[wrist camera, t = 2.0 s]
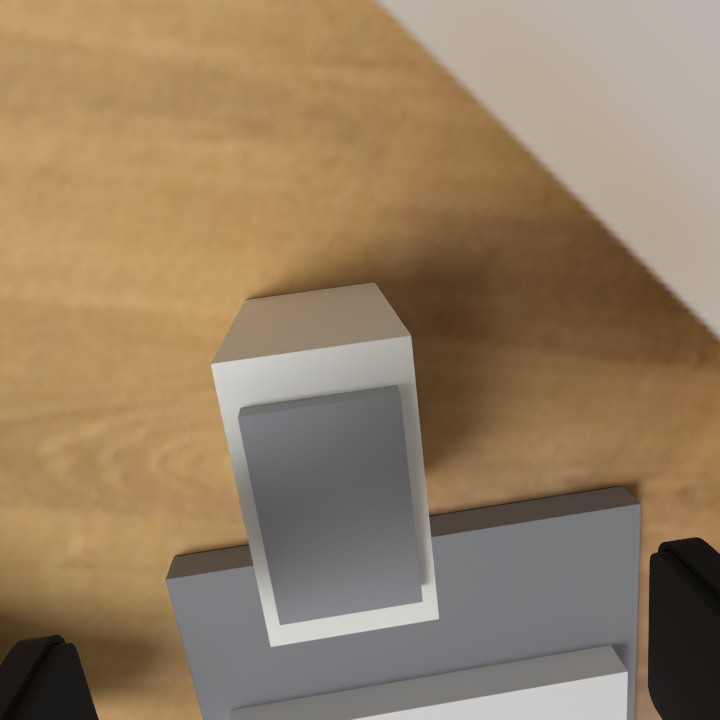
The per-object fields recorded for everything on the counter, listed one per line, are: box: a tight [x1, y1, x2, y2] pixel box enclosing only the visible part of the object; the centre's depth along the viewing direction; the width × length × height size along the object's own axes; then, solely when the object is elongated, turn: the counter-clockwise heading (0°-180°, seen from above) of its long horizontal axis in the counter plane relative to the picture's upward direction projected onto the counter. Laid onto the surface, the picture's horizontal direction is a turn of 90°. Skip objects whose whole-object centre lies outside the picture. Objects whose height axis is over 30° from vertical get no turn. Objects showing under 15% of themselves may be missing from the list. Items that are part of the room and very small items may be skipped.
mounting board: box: [166, 486, 641, 720], centre depth 21 cm, size 14×16×2 cm
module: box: [211, 282, 439, 647], centre depth 15 cm, size 7×4×7 cm, turn 7°
